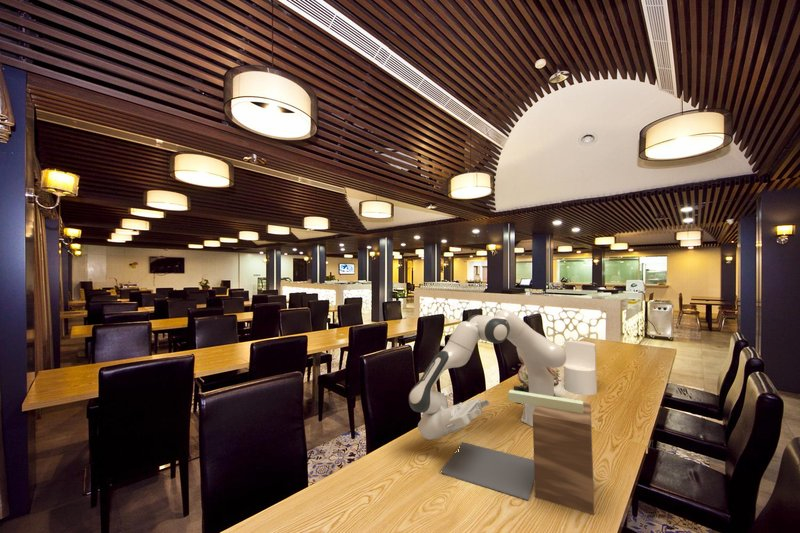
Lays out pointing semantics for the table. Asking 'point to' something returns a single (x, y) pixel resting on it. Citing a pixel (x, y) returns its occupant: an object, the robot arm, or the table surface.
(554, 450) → the wooden pedestal block
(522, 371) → the rose bouquet
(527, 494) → the mat
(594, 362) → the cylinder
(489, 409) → the table surface
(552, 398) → the stick
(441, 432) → the robot arm
